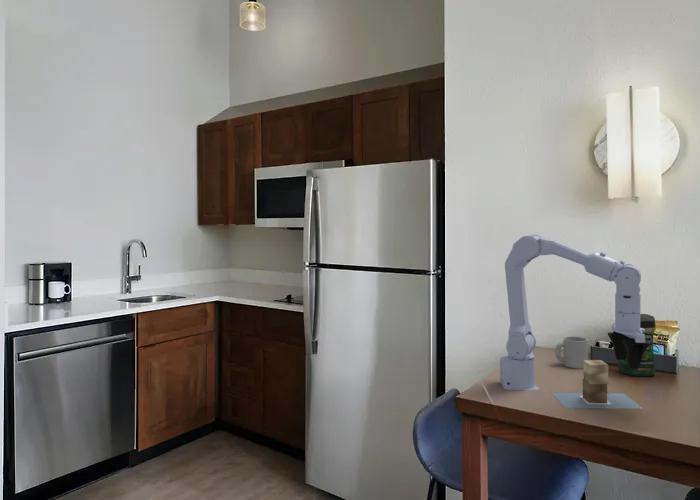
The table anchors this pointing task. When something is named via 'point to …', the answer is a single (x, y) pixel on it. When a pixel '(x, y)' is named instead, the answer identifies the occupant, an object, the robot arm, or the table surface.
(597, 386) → the walnut block
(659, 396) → the table surface
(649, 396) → the table surface
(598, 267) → the robot arm
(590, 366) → the maple block
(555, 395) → the board
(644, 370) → the coffee jar
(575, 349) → the cup
